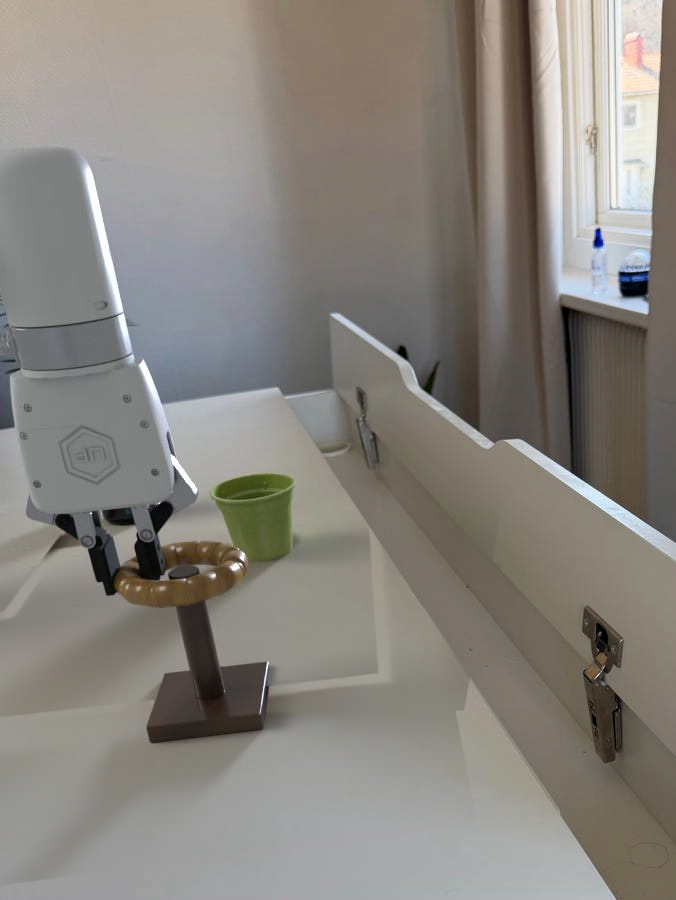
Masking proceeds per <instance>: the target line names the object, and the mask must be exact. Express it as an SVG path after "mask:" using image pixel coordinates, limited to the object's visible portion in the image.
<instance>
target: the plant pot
mask: <svg viewBox="0 0 676 900" xmlns="http://www.w3.org/2000/svg"><path fill="white" fill-rule="evenodd" d="M296 484H297V482H296V479H295V477H293V476H291V475H289V474H286V473H279V472H278V473H277V472H263V473H251V474H245V475H240V476H236V477H232V478H230V479H226V480H224V481H221V482H220V483H217V484H215V485H214V486H213V487H211V489H210V490H209V497H210V498H211V500H213V501H214V502H215V504H216V506H217V508H218V510H219V511H220V512H221V514H222V517H223V520H224V522H225V525H226V528H227V531H228V534H229V536H230V539H231V542H232V546H234V547H235V548H237V549H239V550H240V551H242V552H243V553H244V554H245V555H246V557H247V559H248V562H252V563H254V562H255V563H256V562H257V563H258V562H259V563H260V562H268V561H273V560H276V559H280V558H282V557H285V556H286V555H288V554H290V553H291V552H292V551H293V549H294V548H293V519H292V517H293V513H292V500H293V498H294V488H296Z"/></svg>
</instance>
